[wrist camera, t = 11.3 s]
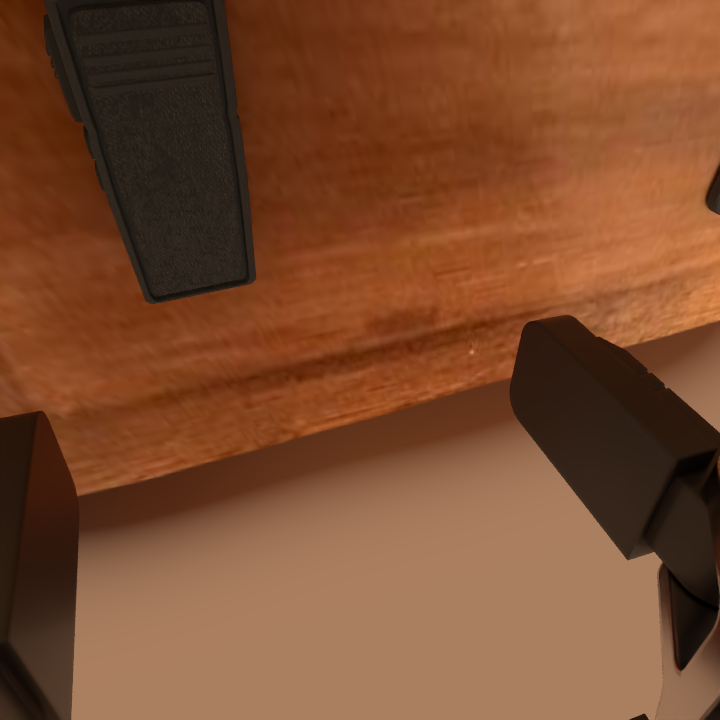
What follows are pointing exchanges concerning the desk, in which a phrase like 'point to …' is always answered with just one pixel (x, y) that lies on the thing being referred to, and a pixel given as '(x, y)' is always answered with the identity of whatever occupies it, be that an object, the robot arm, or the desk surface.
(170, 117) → the walkie-talkie
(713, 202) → the phone
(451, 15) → the desk surface
